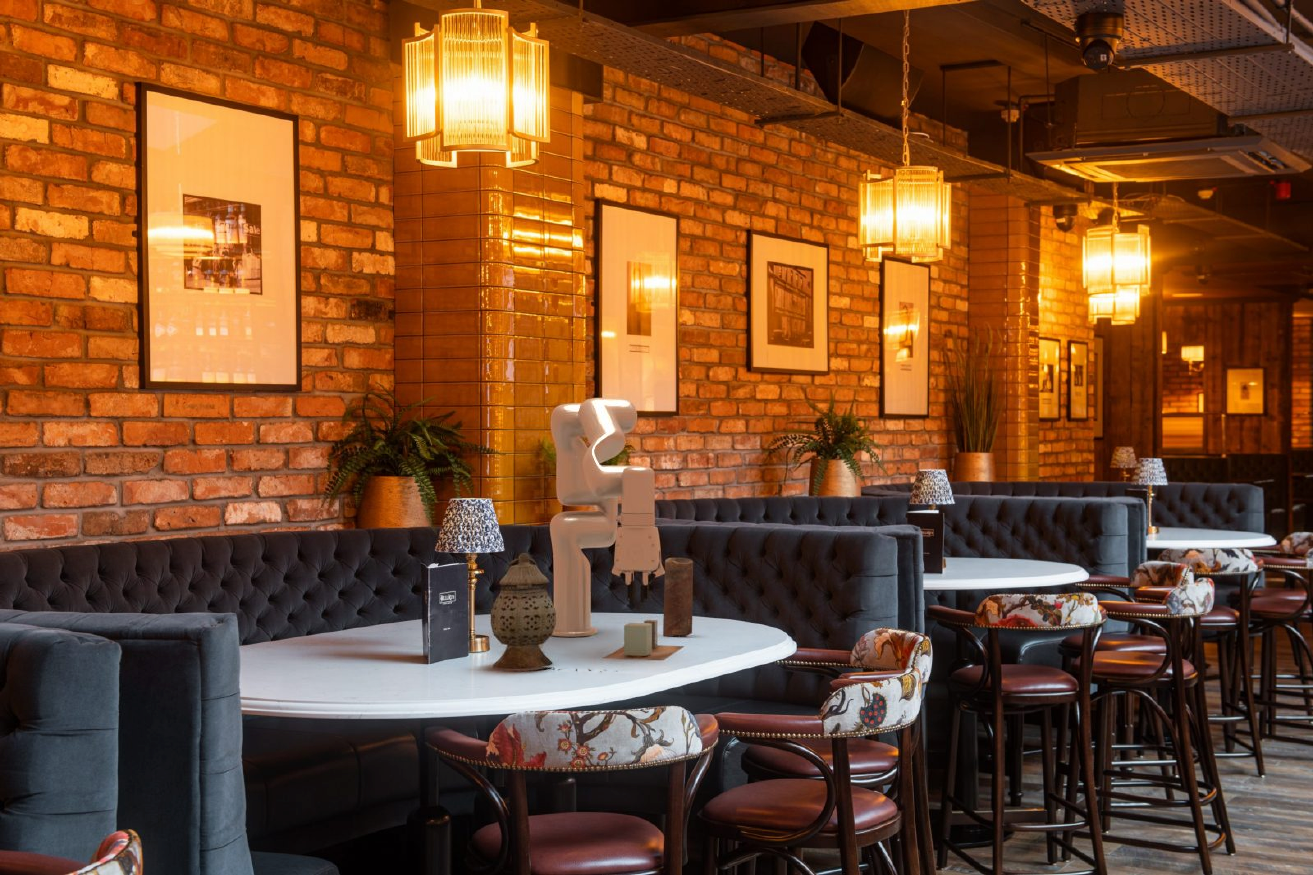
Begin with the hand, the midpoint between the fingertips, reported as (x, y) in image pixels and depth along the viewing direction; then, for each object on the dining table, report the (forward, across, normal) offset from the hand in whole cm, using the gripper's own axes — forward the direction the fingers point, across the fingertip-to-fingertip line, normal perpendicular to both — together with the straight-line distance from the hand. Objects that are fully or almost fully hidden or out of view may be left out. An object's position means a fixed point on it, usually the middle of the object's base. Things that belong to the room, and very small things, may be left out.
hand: (638, 601), depth 313 cm
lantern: (+13, -22, -16) cm, 30 cm away
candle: (+13, +1, +37) cm, 39 cm away
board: (+13, 0, +6) cm, 14 cm away
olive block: (+12, 0, 0) cm, 12 cm away
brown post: (+12, 0, +12) cm, 17 cm away
